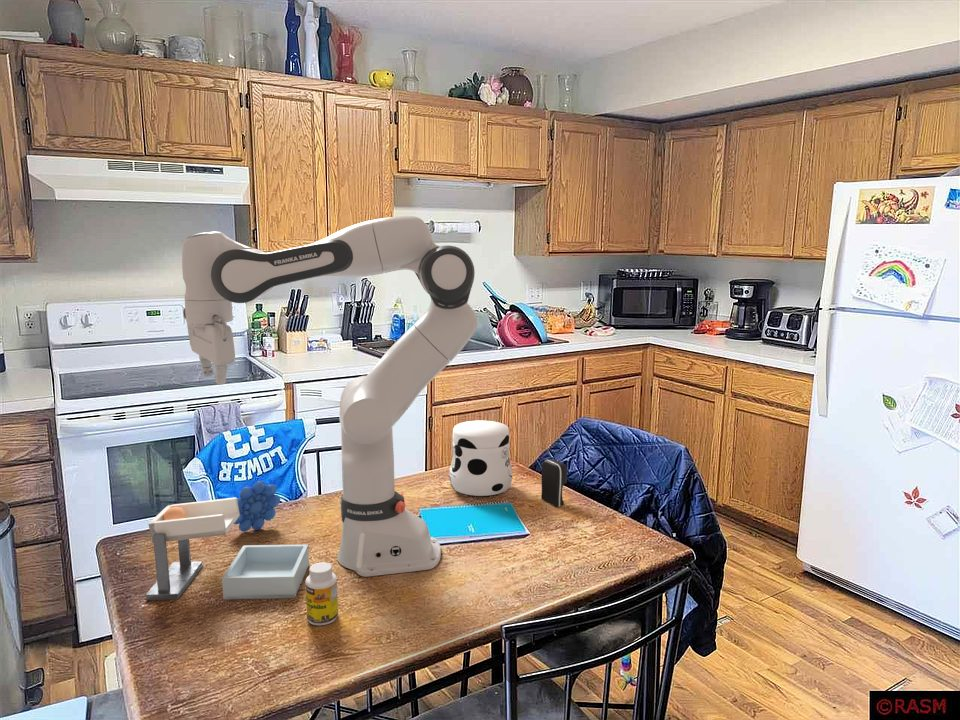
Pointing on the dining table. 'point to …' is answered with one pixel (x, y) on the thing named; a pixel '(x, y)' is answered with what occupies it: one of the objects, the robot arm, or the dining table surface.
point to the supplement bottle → (321, 594)
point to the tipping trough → (197, 520)
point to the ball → (174, 513)
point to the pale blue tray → (266, 572)
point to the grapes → (256, 506)
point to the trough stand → (172, 570)
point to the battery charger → (553, 481)
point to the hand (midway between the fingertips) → (214, 379)
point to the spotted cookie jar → (480, 459)
